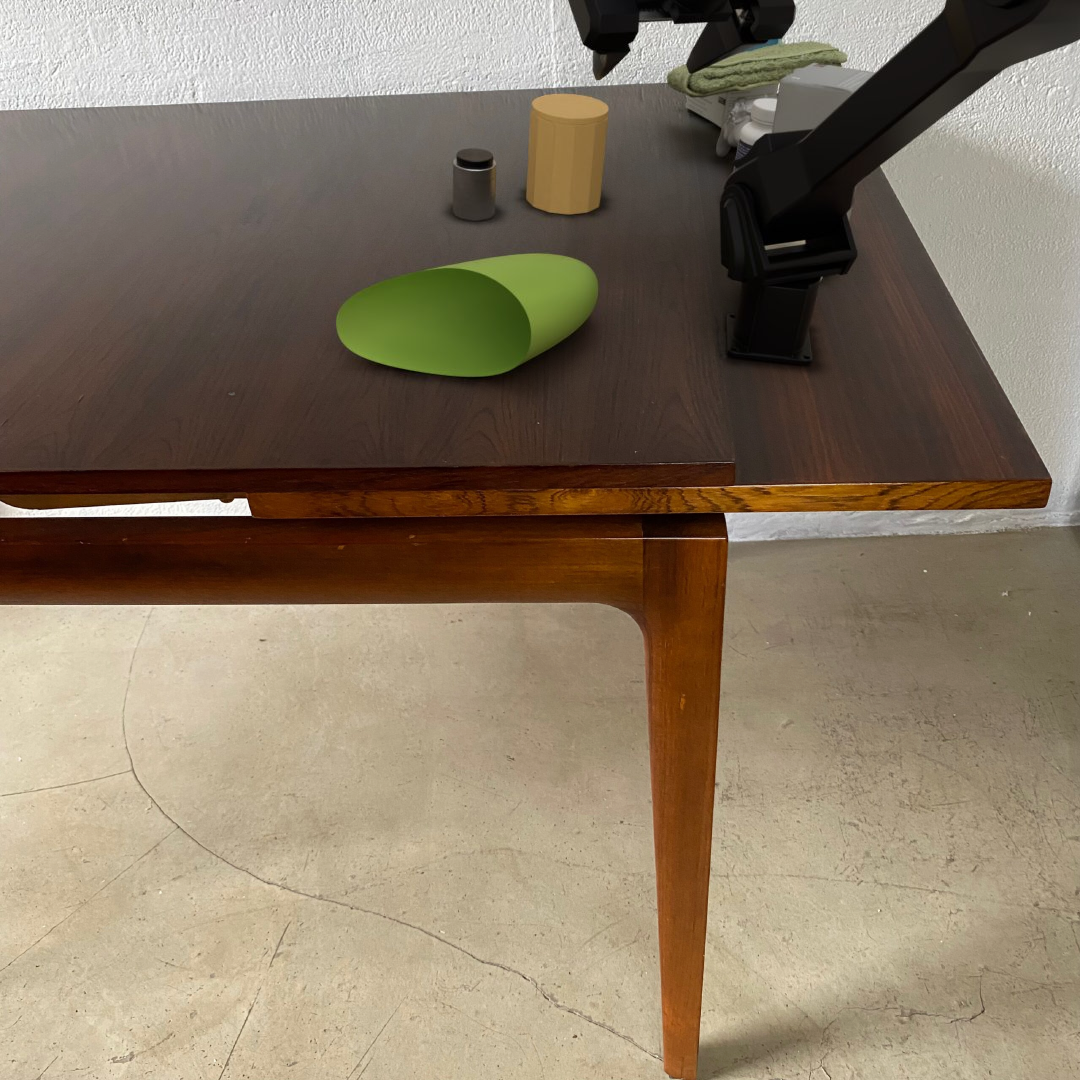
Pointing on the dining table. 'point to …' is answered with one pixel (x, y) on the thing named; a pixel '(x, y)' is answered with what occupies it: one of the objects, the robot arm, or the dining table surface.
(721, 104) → the small box
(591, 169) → the cup-cap
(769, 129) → the pill bottle
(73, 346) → the dining table surface
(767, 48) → the washcloth
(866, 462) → the dining table surface
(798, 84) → the cosmetic box
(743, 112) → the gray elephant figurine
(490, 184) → the flask
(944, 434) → the dining table surface
